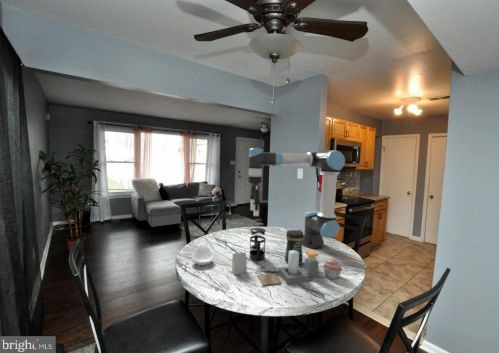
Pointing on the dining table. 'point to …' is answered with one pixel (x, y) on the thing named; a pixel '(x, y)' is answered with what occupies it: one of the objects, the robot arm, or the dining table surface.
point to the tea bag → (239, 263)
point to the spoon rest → (203, 255)
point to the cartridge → (293, 262)
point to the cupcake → (332, 268)
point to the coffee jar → (294, 243)
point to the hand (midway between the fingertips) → (254, 213)
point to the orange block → (312, 255)
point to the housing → (300, 273)
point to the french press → (257, 244)
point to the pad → (269, 279)
